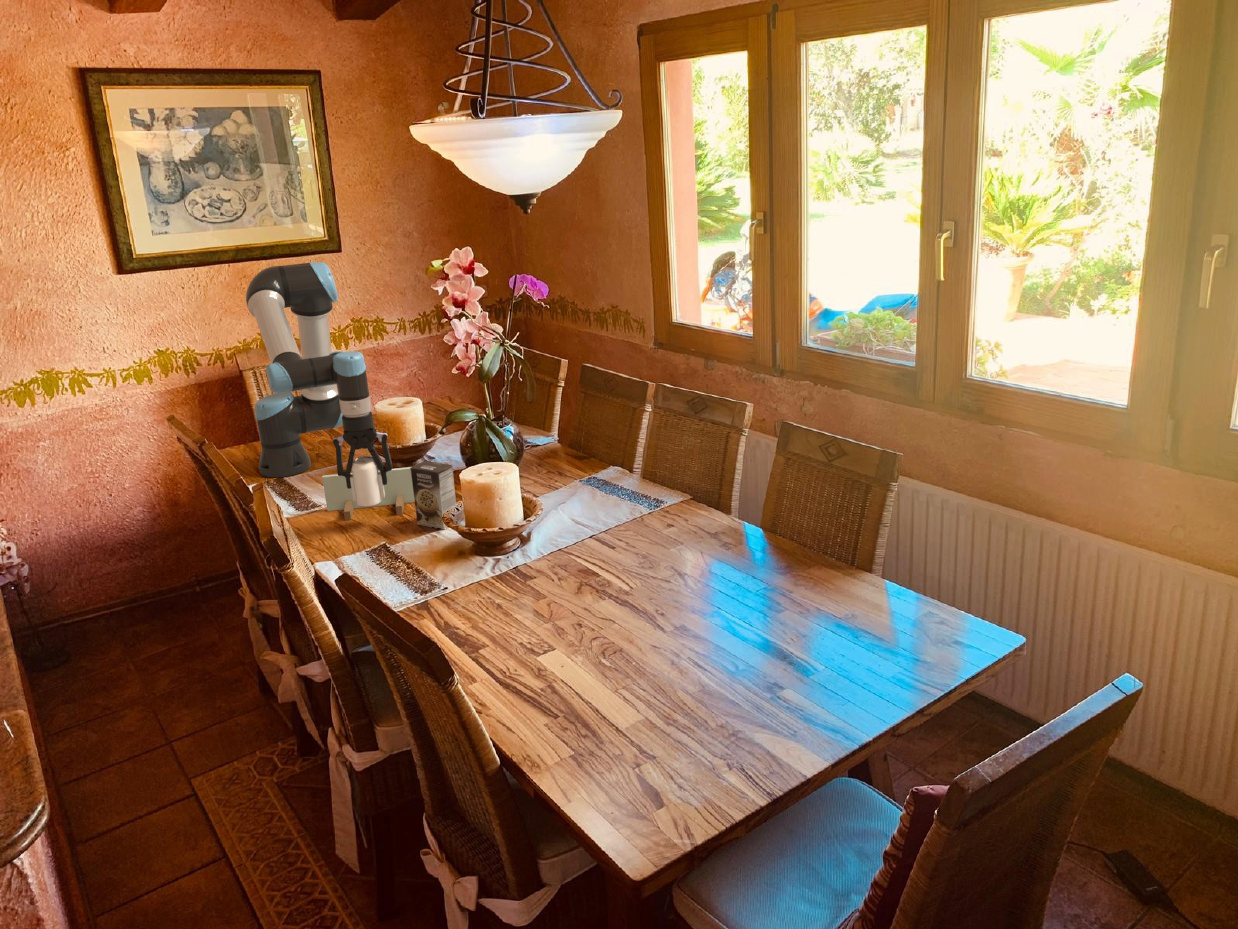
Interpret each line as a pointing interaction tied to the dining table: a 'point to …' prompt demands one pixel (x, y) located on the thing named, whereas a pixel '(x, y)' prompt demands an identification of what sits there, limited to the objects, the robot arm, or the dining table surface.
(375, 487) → the can
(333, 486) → the wall board
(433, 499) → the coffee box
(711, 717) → the dining table surface
